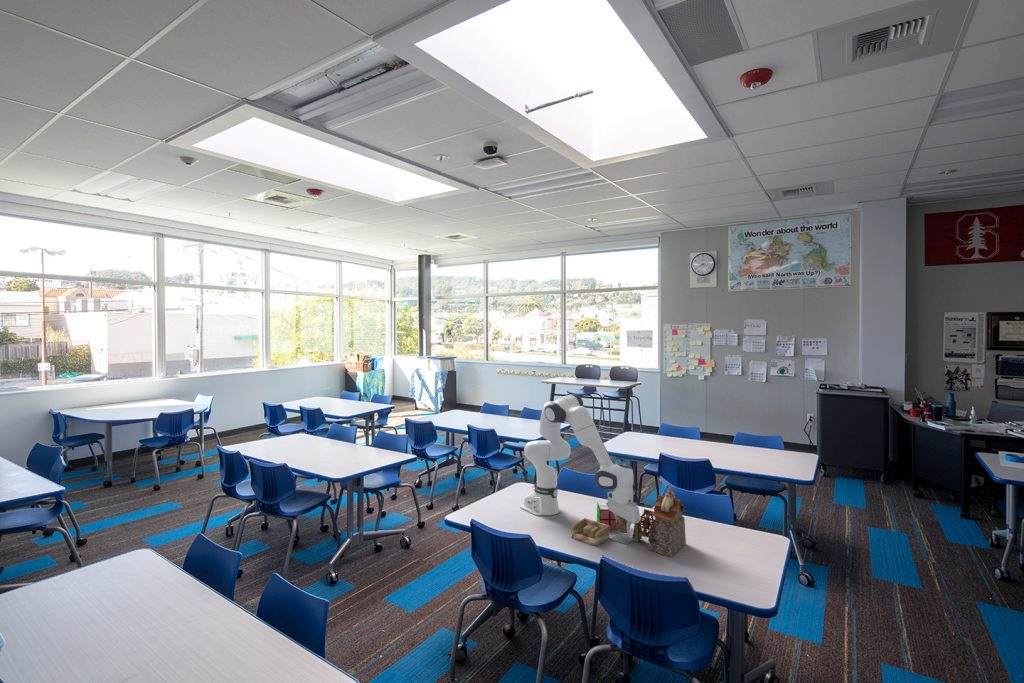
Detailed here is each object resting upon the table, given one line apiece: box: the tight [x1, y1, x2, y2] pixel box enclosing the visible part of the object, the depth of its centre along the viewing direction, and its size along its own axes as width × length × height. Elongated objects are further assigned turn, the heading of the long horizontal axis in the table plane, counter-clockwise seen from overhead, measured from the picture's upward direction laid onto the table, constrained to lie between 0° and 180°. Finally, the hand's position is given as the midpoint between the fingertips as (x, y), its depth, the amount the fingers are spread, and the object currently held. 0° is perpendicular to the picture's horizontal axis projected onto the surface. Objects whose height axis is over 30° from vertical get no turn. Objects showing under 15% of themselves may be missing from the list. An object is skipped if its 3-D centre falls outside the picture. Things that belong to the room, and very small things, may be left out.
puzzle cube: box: [596, 502, 619, 530], centre depth 248 cm, size 10×10×10 cm
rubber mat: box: [609, 532, 634, 546], centre depth 232 cm, size 9×9×1 cm
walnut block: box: [618, 516, 628, 535], centre depth 231 cm, size 4×4×7 cm
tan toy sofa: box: [571, 517, 611, 547], centre depth 233 cm, size 14×12×6 cm
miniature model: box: [631, 482, 687, 558], centre depth 226 cm, size 18×21×30 cm
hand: (623, 526), depth 231 cm, fingers closed on walnut block, 6 cm apart
